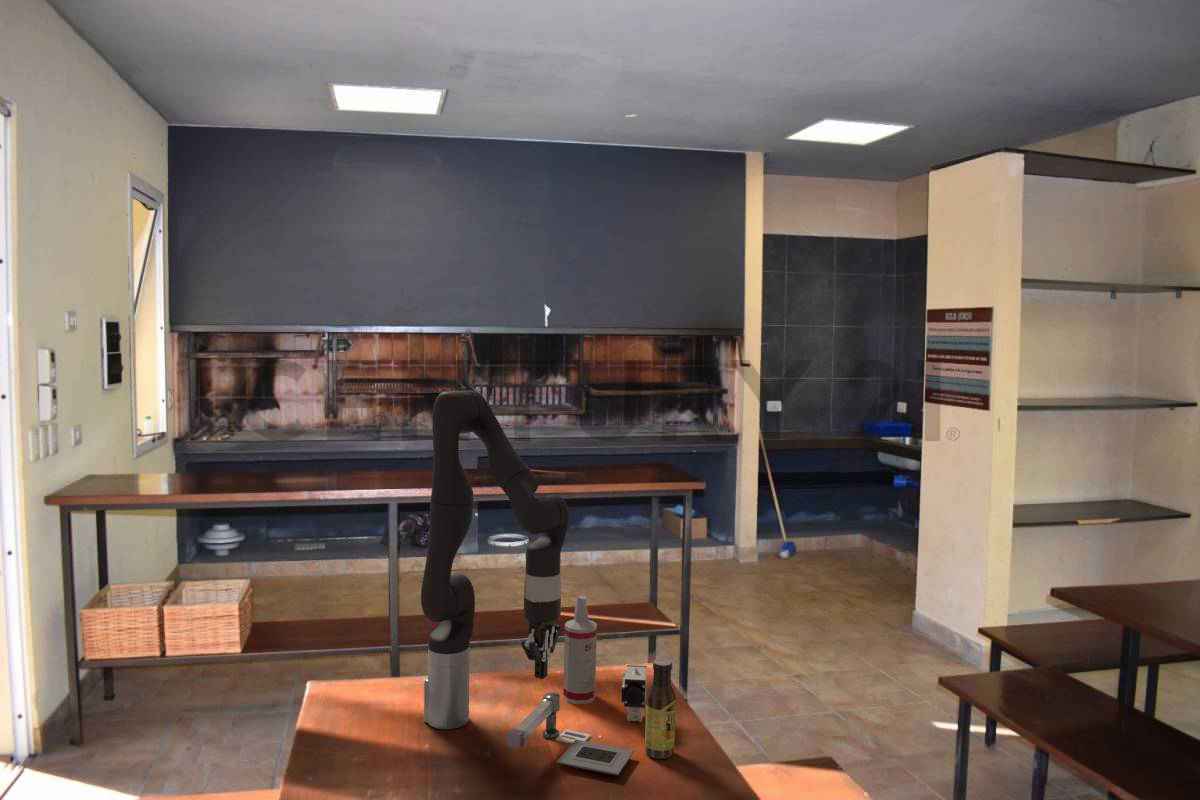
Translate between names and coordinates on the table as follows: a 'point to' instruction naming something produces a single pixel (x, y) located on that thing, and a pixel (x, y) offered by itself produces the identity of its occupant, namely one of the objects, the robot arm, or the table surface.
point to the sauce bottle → (660, 712)
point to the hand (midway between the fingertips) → (540, 677)
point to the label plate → (572, 736)
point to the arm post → (551, 727)
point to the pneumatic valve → (634, 691)
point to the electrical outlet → (595, 757)
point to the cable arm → (534, 720)
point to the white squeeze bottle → (580, 656)
